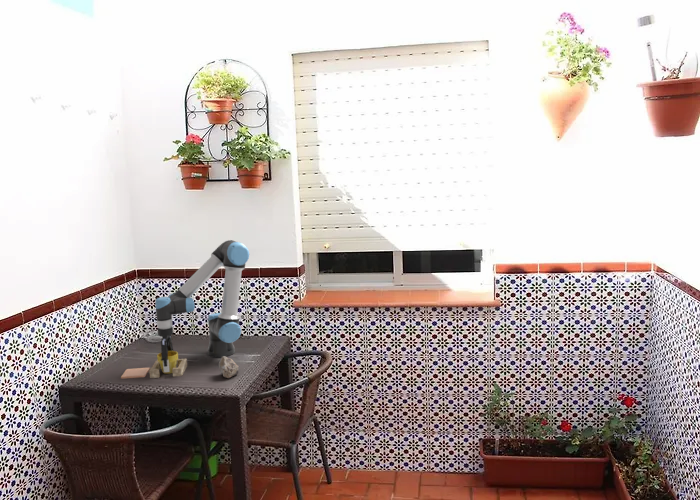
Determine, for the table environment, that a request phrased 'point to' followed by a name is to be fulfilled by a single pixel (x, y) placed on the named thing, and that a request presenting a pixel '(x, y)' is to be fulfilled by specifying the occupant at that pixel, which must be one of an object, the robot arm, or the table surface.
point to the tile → (135, 373)
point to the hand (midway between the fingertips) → (168, 368)
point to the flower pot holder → (176, 371)
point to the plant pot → (172, 361)
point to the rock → (228, 367)
